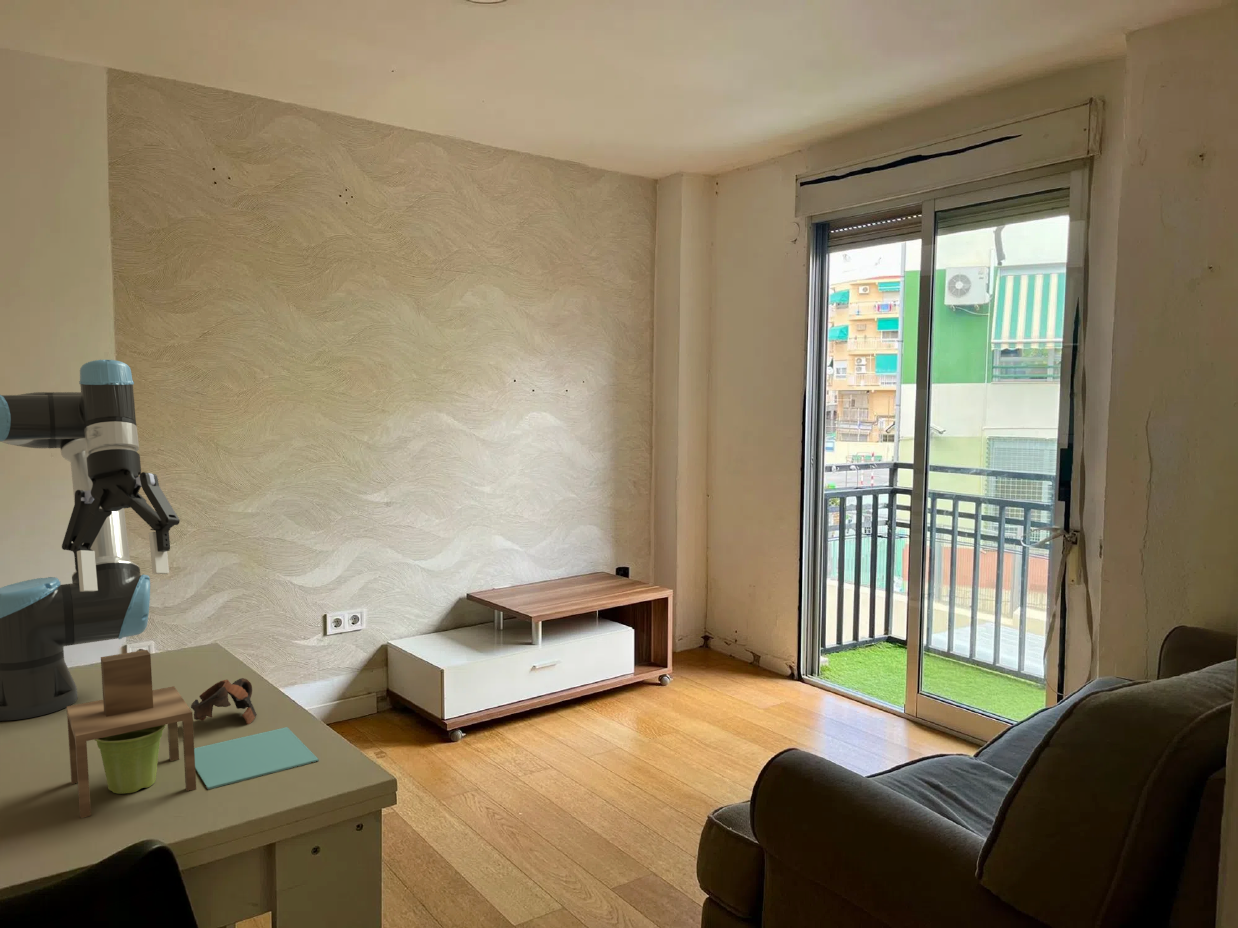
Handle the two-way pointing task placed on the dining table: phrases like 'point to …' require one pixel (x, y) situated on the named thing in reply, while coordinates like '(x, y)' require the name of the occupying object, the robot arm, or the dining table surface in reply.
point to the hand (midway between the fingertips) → (124, 582)
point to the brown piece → (127, 717)
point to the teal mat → (250, 757)
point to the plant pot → (131, 759)
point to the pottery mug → (225, 699)
